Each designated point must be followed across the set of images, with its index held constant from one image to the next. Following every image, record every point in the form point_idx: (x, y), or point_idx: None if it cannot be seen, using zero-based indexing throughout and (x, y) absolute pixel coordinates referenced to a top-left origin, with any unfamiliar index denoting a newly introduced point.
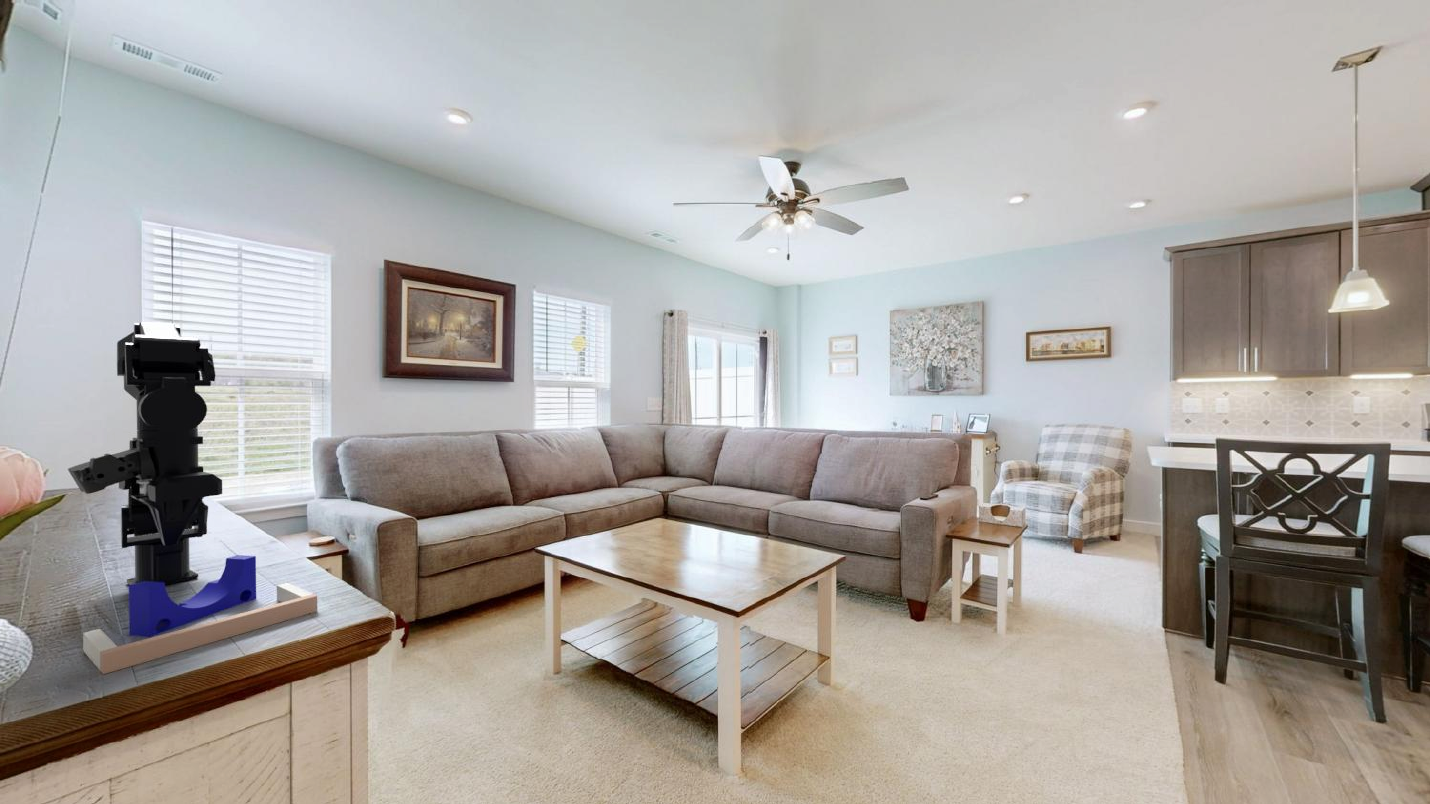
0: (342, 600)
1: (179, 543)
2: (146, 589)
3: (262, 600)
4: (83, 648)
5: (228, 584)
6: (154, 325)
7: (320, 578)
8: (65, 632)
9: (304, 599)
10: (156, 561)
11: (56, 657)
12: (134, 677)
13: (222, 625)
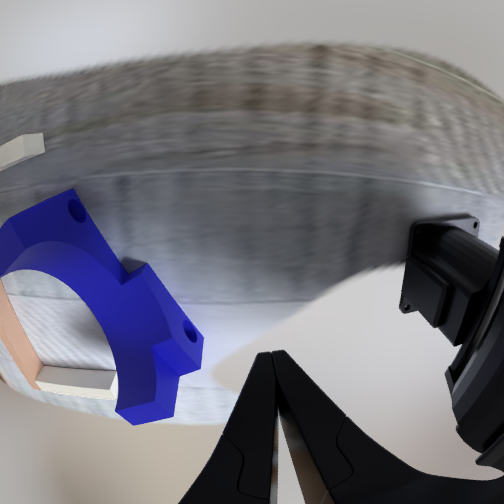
0: (69, 400)
1: (451, 336)
2: None
3: None
4: (39, 133)
5: (125, 355)
6: None
7: (201, 422)
8: (194, 88)
9: (25, 377)
10: (437, 278)
11: (46, 101)
12: None
13: None
